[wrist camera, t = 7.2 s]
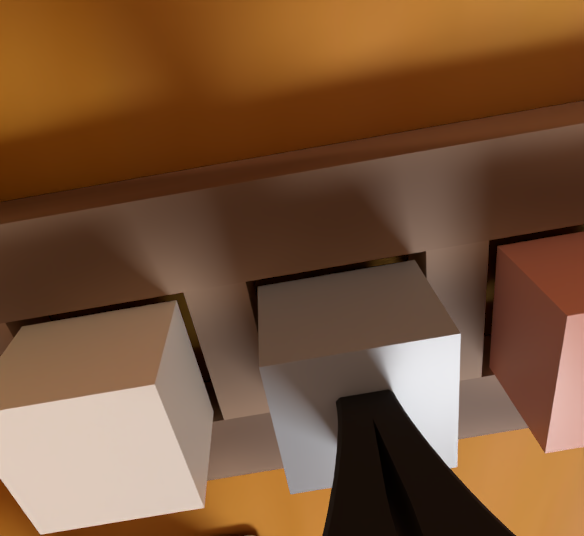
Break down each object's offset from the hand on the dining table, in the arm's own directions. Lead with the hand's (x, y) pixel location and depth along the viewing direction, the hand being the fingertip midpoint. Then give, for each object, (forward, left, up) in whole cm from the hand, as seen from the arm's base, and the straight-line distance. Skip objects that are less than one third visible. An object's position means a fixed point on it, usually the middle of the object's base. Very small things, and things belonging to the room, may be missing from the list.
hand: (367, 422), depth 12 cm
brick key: (0, -7, -4) cm, 8 cm away
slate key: (0, 0, -3) cm, 3 cm away
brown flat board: (0, 0, -5) cm, 5 cm away
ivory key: (0, +7, -3) cm, 8 cm away
